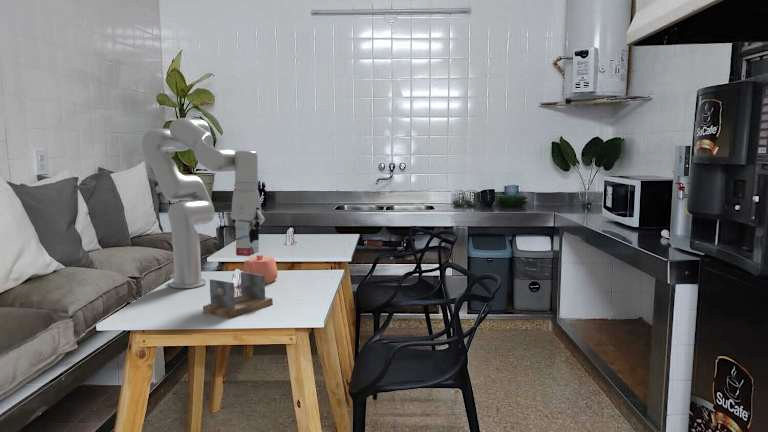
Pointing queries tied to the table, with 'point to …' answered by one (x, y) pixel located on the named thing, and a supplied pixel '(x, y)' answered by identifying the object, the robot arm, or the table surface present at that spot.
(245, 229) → the ink box
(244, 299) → the wooden stand
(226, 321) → the table surface
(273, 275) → the teapot
